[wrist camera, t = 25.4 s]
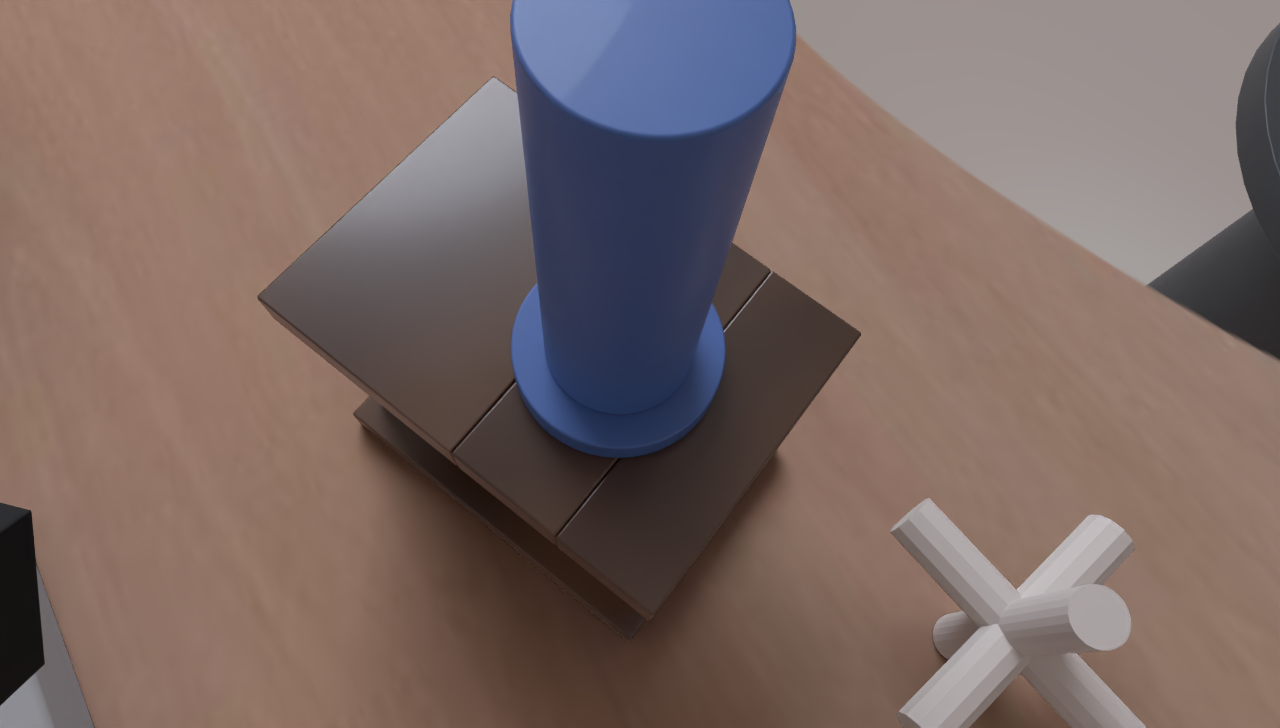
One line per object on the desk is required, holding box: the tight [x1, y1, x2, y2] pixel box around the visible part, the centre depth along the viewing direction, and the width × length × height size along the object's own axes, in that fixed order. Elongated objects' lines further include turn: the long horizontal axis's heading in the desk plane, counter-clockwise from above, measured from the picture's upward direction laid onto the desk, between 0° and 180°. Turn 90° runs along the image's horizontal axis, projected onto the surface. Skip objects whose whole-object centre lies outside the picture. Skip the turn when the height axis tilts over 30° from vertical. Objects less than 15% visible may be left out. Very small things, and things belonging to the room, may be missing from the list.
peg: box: [510, 0, 796, 458], centre depth 21 cm, size 6×6×19 cm
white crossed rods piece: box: [890, 498, 1147, 728], centre depth 29 cm, size 10×10×10 cm
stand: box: [257, 76, 861, 641], centre depth 30 cm, size 14×10×12 cm
